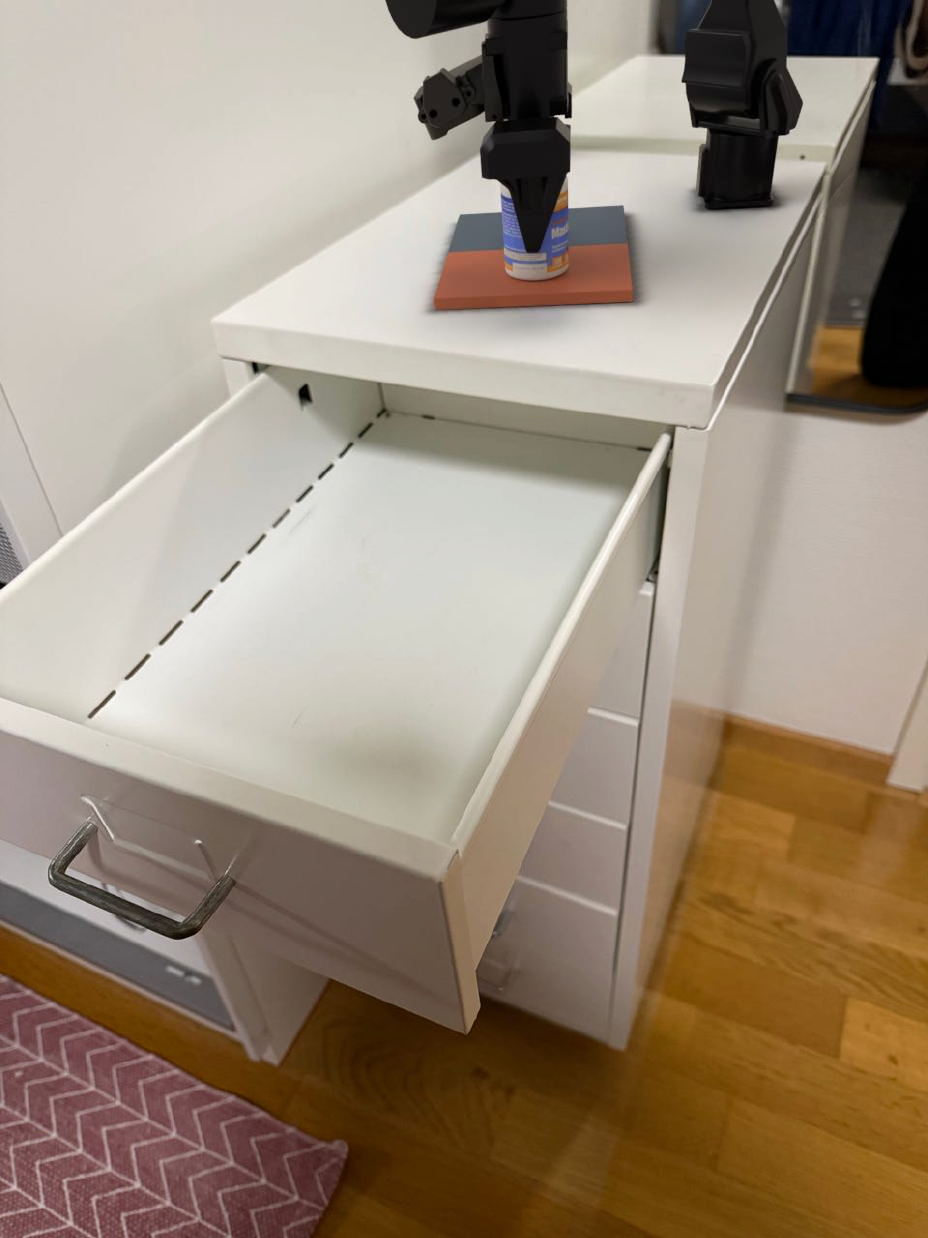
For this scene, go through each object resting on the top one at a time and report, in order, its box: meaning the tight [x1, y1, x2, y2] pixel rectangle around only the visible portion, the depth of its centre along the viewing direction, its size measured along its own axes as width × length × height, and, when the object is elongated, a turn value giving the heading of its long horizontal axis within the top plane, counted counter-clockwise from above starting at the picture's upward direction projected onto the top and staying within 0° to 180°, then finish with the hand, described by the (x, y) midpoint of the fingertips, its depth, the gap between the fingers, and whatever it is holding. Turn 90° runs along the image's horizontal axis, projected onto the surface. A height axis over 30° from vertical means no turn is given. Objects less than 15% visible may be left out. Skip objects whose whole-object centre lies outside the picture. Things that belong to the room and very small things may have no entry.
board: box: [433, 205, 634, 311], centre depth 78 cm, size 16×21×1 cm
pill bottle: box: [499, 175, 569, 281], centre depth 71 cm, size 5×5×10 cm
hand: (534, 239), depth 72 cm, fingers closed on pill bottle, 5 cm apart
